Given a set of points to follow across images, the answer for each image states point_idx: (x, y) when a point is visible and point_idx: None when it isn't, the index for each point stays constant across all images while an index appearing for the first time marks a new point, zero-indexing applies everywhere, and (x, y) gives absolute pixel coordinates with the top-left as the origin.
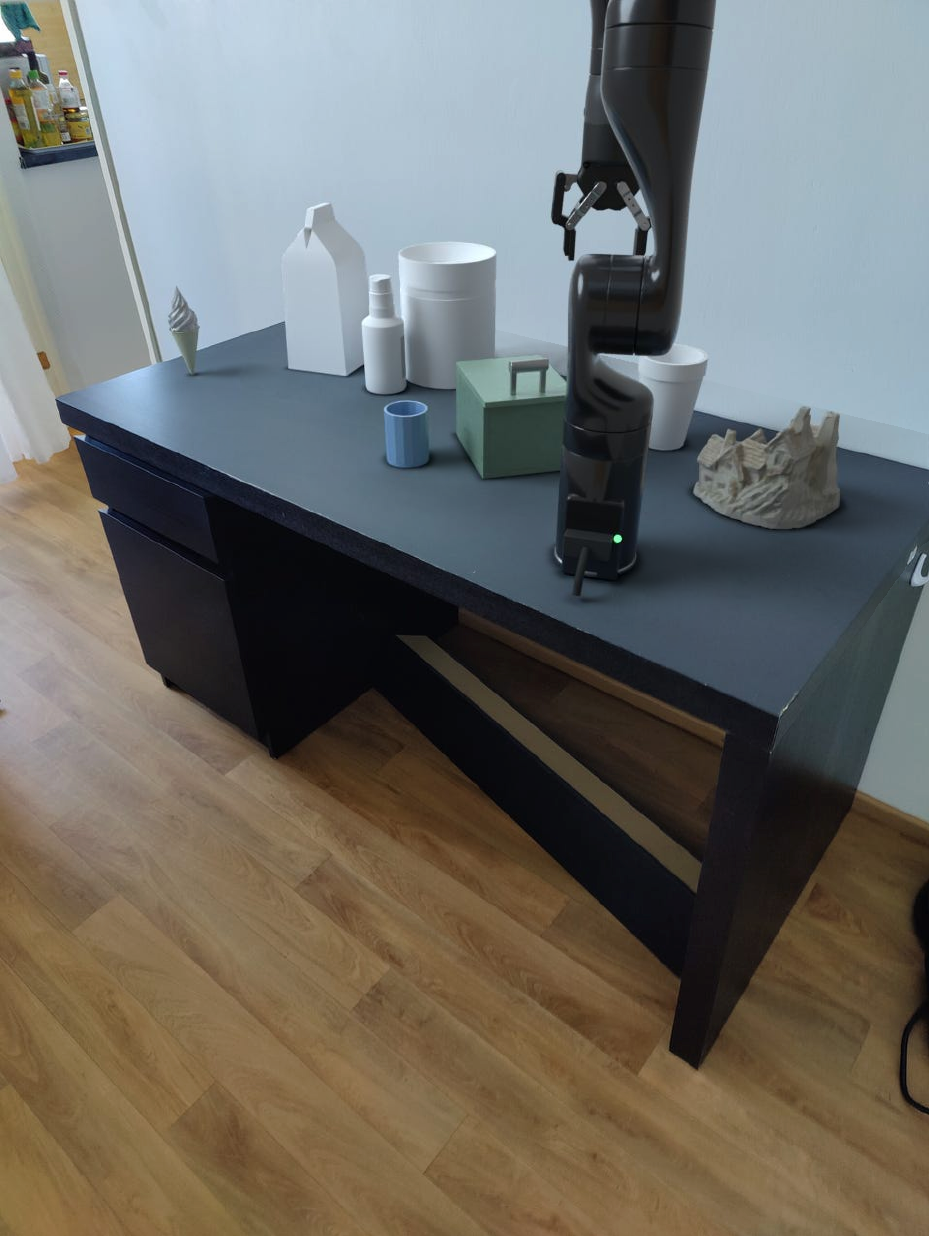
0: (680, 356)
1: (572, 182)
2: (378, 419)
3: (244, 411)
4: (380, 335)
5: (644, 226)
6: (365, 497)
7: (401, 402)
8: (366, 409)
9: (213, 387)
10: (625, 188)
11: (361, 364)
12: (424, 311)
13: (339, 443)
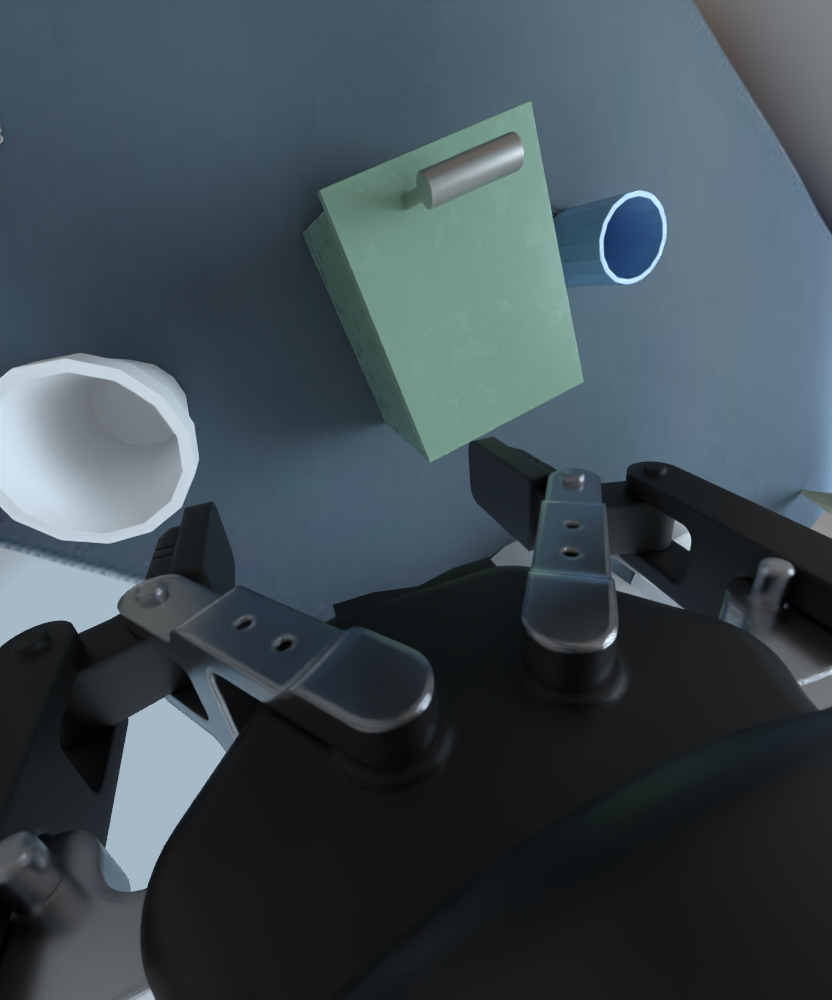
0: (88, 516)
1: (758, 632)
2: (611, 400)
3: (759, 391)
4: (676, 527)
5: (154, 581)
6: (625, 68)
7: (637, 276)
8: (626, 433)
9: (785, 459)
10: (341, 680)
11: (633, 579)
12: (635, 595)
13: (658, 298)
